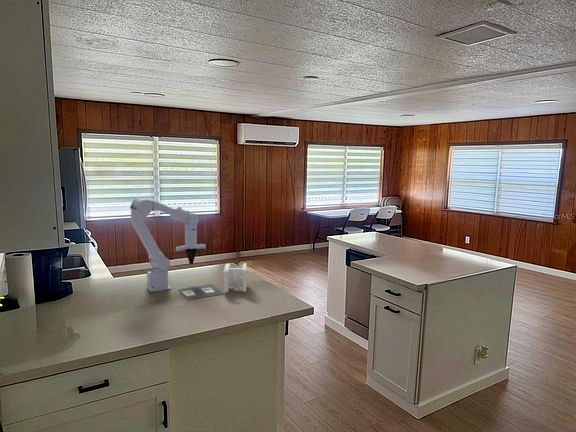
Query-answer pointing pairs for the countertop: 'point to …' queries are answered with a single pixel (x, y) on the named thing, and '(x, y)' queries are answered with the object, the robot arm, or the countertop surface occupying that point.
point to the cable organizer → (235, 277)
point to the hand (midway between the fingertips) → (191, 263)
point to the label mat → (200, 292)
